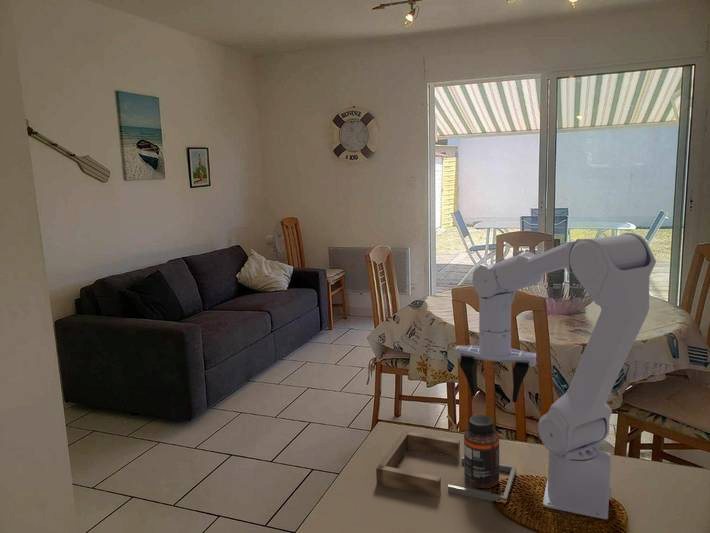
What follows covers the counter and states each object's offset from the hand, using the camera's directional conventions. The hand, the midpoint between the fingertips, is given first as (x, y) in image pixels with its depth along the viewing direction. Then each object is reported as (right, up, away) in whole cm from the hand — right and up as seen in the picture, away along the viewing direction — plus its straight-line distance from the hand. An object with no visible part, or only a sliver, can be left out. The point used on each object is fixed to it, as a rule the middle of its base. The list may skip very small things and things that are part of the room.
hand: (494, 397), depth 105 cm
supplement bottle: (-4, -13, -8) cm, 16 cm away
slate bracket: (-4, -12, -9) cm, 16 cm away
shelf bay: (-14, -12, -5) cm, 19 cm away
